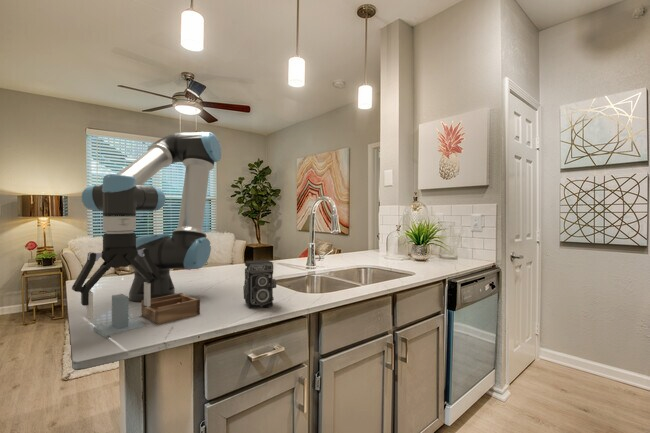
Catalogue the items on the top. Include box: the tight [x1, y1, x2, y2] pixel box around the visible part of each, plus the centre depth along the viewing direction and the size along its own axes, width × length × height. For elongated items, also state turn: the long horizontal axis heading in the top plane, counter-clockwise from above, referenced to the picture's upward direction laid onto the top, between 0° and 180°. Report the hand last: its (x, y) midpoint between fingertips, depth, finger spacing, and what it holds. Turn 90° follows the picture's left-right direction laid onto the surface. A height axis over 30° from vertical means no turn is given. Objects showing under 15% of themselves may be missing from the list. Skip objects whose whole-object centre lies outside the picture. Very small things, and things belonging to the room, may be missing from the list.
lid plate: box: [93, 293, 147, 339], centre depth 86 cm, size 10×9×9 cm
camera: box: [242, 259, 277, 309], centre depth 106 cm, size 10×10×15 cm
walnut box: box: [141, 292, 201, 325], centre depth 96 cm, size 12×12×5 cm
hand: (120, 311), depth 86 cm, fingers open, 13 cm apart
